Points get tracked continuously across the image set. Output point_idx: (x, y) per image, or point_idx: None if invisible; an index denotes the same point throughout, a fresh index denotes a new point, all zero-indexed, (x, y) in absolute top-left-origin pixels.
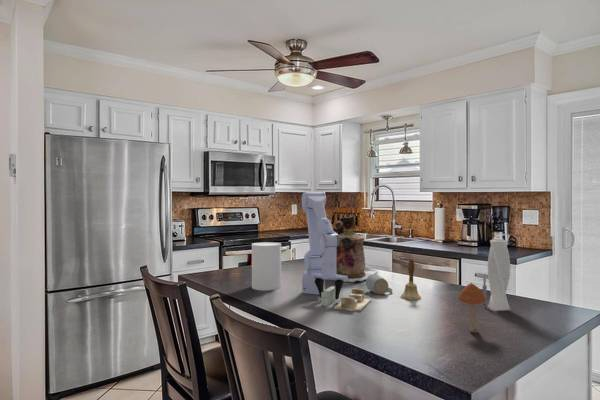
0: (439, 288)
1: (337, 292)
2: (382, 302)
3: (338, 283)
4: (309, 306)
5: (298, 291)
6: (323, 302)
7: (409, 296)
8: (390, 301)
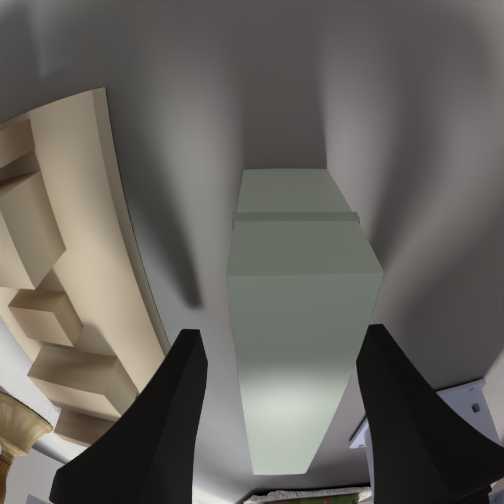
0: (56, 454)
1: (148, 390)
2: (16, 364)
3: (64, 494)
4: (440, 71)
5: (489, 388)
6: (300, 183)
7: (5, 405)
8: (14, 378)
